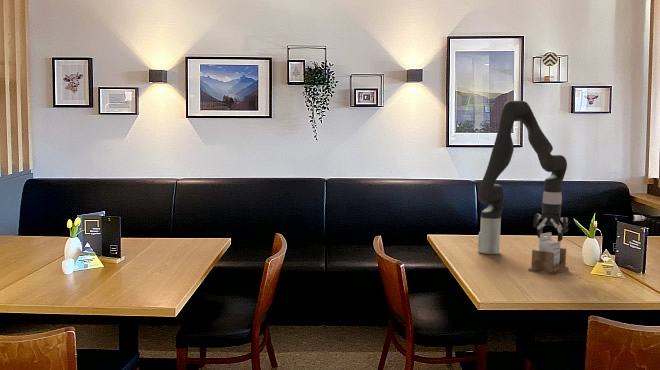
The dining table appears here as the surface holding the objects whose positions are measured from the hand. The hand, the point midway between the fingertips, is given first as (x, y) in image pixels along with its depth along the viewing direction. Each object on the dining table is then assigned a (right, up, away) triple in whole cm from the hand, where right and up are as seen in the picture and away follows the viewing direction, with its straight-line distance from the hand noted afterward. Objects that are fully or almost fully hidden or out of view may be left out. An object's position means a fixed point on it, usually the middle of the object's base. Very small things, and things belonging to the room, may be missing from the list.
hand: (549, 239), depth 256 cm
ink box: (0, -12, +1) cm, 12 cm away
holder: (0, -13, +1) cm, 13 cm away
